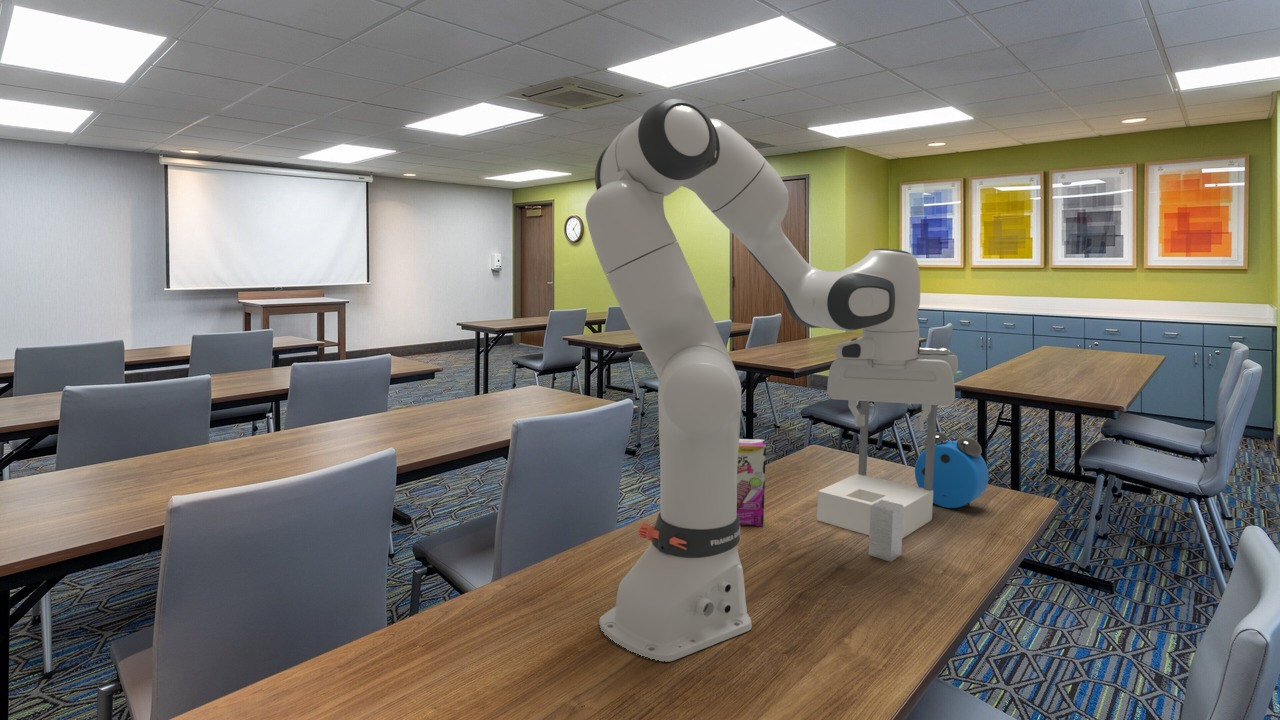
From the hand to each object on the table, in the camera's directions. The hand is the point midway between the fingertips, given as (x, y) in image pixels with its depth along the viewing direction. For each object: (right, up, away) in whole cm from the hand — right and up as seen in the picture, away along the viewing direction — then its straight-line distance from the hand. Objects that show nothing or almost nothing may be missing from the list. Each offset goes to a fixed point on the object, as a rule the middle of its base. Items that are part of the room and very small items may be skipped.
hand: (888, 427), depth 116 cm
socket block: (+6, -20, +21) cm, 29 cm away
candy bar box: (-24, -21, +18) cm, 36 cm away
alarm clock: (+22, -19, +27) cm, 40 cm away
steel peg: (0, -22, +3) cm, 23 cm away
